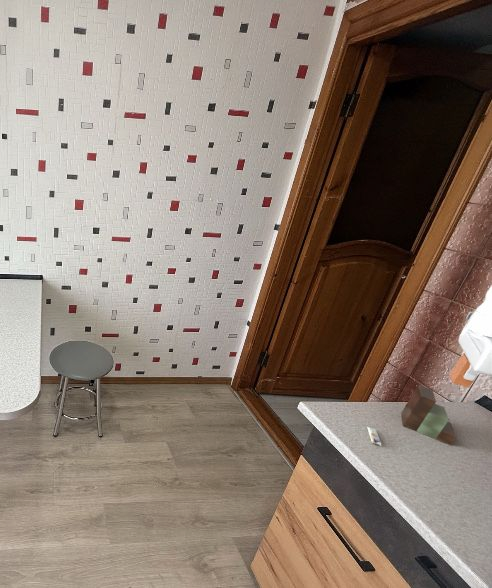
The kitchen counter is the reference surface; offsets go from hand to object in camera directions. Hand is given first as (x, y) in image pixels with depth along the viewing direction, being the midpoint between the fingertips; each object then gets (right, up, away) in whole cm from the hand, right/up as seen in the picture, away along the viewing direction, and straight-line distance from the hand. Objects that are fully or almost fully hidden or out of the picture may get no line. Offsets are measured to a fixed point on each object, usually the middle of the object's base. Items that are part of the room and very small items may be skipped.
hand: (464, 372), depth 87 cm
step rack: (-1, -18, +10) cm, 21 cm away
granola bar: (-20, -19, +5) cm, 28 cm away
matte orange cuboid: (0, -2, +1) cm, 3 cm away
